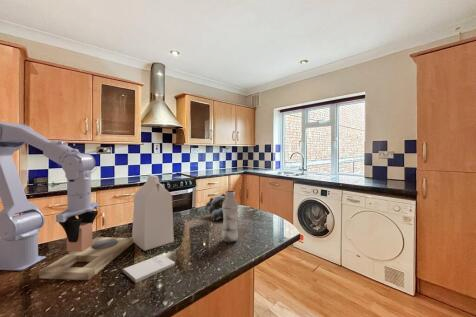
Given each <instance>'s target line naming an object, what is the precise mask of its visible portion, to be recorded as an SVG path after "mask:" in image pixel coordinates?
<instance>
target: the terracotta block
mask: <svg viewBox="0 0 476 317" xmlns="http://www.w3.org/2000/svg"><path fill="white" fill-rule="evenodd" d="M92 240H93V224H92V223H81V224H80V227H79V235H78V241H77V242H69V241H68V238H67V237H66V252H69V253H71V252H82V251H84V250H86V249H87V248H89V247H90V246H92Z"/></svg>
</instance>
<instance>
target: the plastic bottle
mask: <svg viewBox="0 0 476 317" xmlns="http://www.w3.org/2000/svg"><path fill="white" fill-rule="evenodd" d="M225 196H226V198H225V200H224V201H223V203H222V209H223V218H222V219H223V220H222V229H221V239H222V240H223V241H224V242H226V243H233V242H235V241H237V240H238V237H239V236H238V235H239V233H238V232H239V231H238V223H237V222H238V221H237V220H238V210H239V202H238V200H237V199H236V191H235V190H226V191H225Z"/></svg>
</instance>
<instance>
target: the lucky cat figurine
mask: <svg viewBox="0 0 476 317" xmlns="http://www.w3.org/2000/svg"><path fill="white" fill-rule="evenodd" d="M225 198H226V194H224V193H222V194H221V195H217V196H215V197H211V198H209V201H207V202H206V203H205V205H206V207H207V210H208V212H209V214H210V218H211V220H212V219H214V220H216V221H218V220H221V219H223V209H222V203H223V201H224V200H225ZM214 220H213V221H214Z"/></svg>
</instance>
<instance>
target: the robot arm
mask: <svg viewBox="0 0 476 317" xmlns="http://www.w3.org/2000/svg"><path fill="white" fill-rule="evenodd" d="M26 144H28V145H29V146H32V147H34V148H36V149H39V150H40V151H42V153H43V156H44V157H45V158H47V159H49V160H50V161H52V162H54V163H56V164H58V165H60V166H61V169H62V170H63V171H64V174H65V178H66V180H67V181H66V182H67V187H66V188H67V189H66V190H67V192H66V193H67V197H66V199H67V202H66V203H67V206H66V207H67V209H64V210H63V211H61V212H60V213H58V214H55V223H58V224H60V226H61V227H62V228H63V230H64V232H65V234H66V239H67V238H68V241H69V242H77V241H78V235H79V227H80V224H81V223H92V225H93V224H94V221H95V220H96V217H97V216H98V215H99V211H98V209H99V202H97V201H96V202H92V193H91V192H92V183H91V182H92V171H93V170H94V168H95V167H96V159H95V158H94V156H93V155H92V154H91V153H89V152H80V150H79V149H77V148H73V147H71V146H69V145H67V142H65V141H64V140H54V141H53V140H50V139H48V138H46V137H45V136H44V135H42V134H40V133H38V132H37V131H35V130H34V129H33V127H31V126H30V125H29V126H28V125H27V124H25V123H14V122H5V121H0V201H1V204H2V207H3V209H1V210H0V271H20V272H21V271H24V270H25V269H28V268H29V267H31V266H33V265H35V264H37V263H39V262H41V261H42V260H45V259H46V258H47V257H46V256H43V255H39V236H38V235H39V234H38V233H39V232H40V231H41V228H43V226H44V225H45V221H46V219H45V215H44V214H43V212H42V211H40V209H39V206H38V205H36V204H34V203H32V202H30V201H28V198H27V196H26V192H25V190H24V187H23V184H22V180H21V178H20V176H19V172H18V169H17V166H16V163H15V160H14V157H13V154H14V153H15V152H17V151H19V150H20V149H21V148H22V147H23V146H25V145H26Z"/></svg>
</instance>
